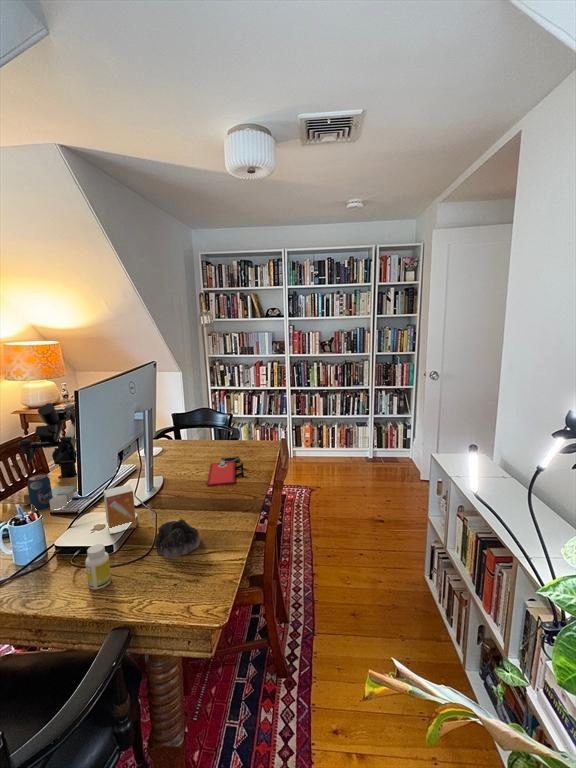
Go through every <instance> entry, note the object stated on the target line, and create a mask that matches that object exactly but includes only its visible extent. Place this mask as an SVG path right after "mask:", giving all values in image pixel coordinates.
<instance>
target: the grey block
mask: <svg viewBox="0 0 576 768" xmlns="http://www.w3.org/2000/svg"><path fill="white" fill-rule="evenodd" d="M74 493H75V492H73V489H64V490H61V491H60V492H59V493H58V494H57V495H66V496H67V502H69V501H70V500H71V499H72V498H73V497H74V498H75V495H74Z"/></svg>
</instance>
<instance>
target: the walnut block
mask: <svg viewBox="0 0 576 768" xmlns="http://www.w3.org/2000/svg"><path fill="white" fill-rule="evenodd" d="M23 501H24V505H25V504H30V499H29V492H28V491H27V492H26V493H24V494H23Z"/></svg>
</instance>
